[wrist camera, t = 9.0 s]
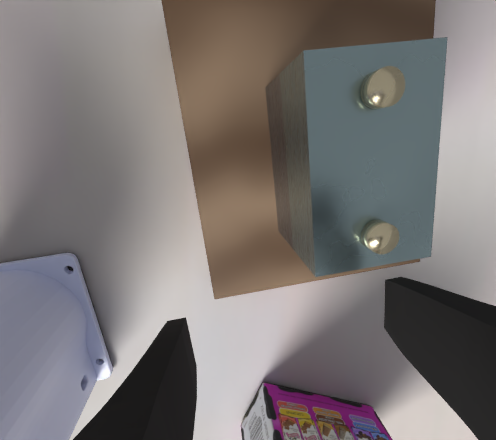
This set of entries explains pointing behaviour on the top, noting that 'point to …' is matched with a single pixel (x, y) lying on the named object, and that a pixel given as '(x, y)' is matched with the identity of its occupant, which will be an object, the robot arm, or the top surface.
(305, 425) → the candy bar box
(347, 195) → the housing
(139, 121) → the top surface
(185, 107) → the stand
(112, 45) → the top surface
